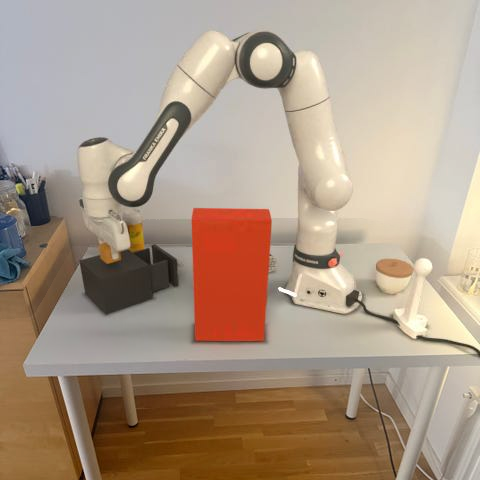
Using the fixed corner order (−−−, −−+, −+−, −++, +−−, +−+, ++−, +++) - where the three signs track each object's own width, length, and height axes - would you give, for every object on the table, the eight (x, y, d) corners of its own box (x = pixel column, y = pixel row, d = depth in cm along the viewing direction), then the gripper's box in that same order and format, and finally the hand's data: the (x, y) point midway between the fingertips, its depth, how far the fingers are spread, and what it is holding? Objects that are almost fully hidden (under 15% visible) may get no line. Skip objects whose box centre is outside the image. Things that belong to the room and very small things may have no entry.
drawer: (168, 266, 148) (166, 240, 143) (190, 281, 140) (189, 255, 135) (118, 281, 139) (115, 254, 134) (138, 299, 131) (135, 271, 126)
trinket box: (413, 288, 142) (420, 260, 137) (398, 301, 135) (405, 273, 130) (381, 277, 148) (387, 250, 143) (365, 289, 141) (370, 261, 136)
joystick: (389, 316, 128) (405, 250, 117) (413, 313, 130) (431, 248, 119) (410, 339, 119) (429, 270, 108) (435, 336, 121) (457, 267, 110)
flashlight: (241, 254, 159) (241, 240, 156) (255, 252, 161) (255, 237, 158) (261, 273, 148) (262, 258, 145) (276, 270, 150) (277, 255, 147)
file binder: (196, 323, 123) (193, 207, 105) (261, 324, 123) (268, 208, 106) (195, 341, 116) (191, 220, 98) (263, 342, 117) (271, 221, 99)
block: (121, 260, 126) (119, 245, 124) (107, 264, 124) (104, 249, 122) (114, 254, 129) (112, 240, 126) (100, 258, 127) (98, 244, 124)
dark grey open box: (129, 280, 142) (126, 247, 136) (152, 298, 133) (149, 264, 127) (85, 293, 134) (79, 260, 128) (106, 314, 125) (100, 279, 119)
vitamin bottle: (123, 256, 156) (117, 213, 147) (133, 249, 160) (128, 207, 152) (138, 259, 154) (134, 216, 146) (148, 252, 159) (144, 210, 150)
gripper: (133, 214, 113) (139, 265, 121) (97, 192, 126) (104, 239, 134) (109, 220, 110) (116, 272, 117) (75, 197, 123) (84, 245, 130)
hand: (110, 254), depth 126 cm, fingers closed on block, 4 cm apart
